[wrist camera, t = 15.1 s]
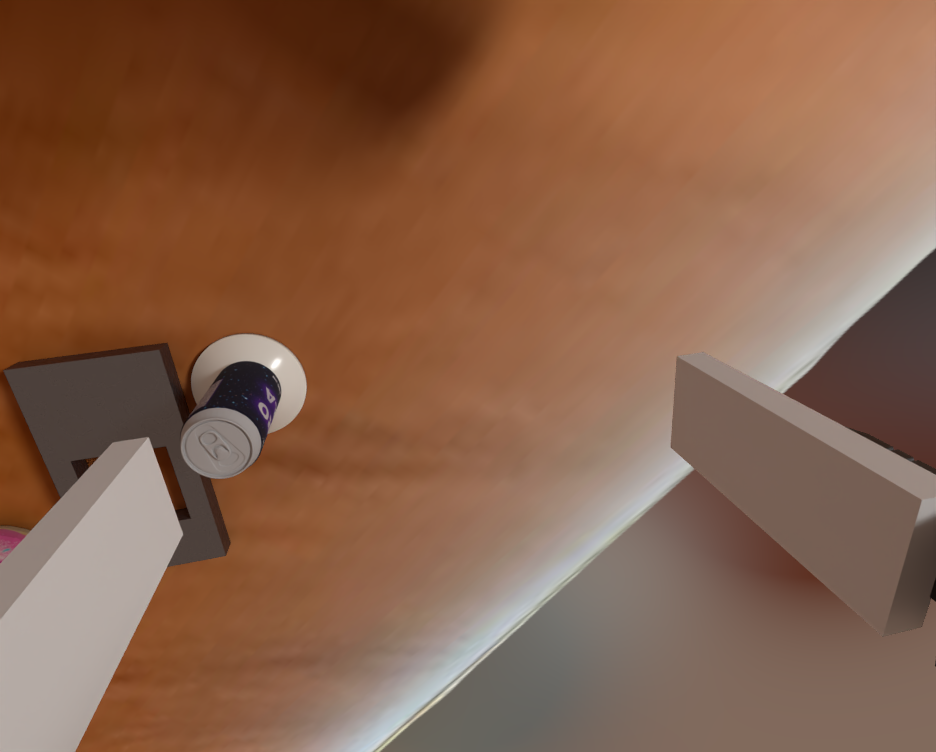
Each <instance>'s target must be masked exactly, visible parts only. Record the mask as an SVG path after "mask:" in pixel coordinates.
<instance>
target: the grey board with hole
mask: <svg viewBox="0 0 936 752" xmlns="http://www.w3.org/2000/svg"><path fill="white" fill-rule="evenodd" d="M3 371H4V373H5V375H6V378H7V380H8V382H9V384H10V386H11V389H12V391H13V393H14V395H15V398H16V400H17V402H18V404H19V406H20V409H21V411H22V413H23V415H24V418H25V420H26V422H27V424H28V426H29V429H30V431H31V433H32V435H33V438H34V440H35V442H36V444H37V446H38V449H39V451H40V453H41V455H42V458H43V460H44V462H45V464H46V466H47V469H48V471H49V473H50V475H51V478H52V480H53V482H54V484H55V486H56V489H57V491H58V493H59V495H60V498H62V497H63V496H64V494H65V493H66V492H67V491H68V490H69V489H70V488H71V487H72V486H73V485H74V484H75V483H76V482H77V480H78V479H79V478H80V477H81V476H82V475H83V474H84V473H85V472H86V471H87V470H88V469H89V467H88V465H87V462H86V460H85V459H88V458H94V457H100V456H101V455H102V454H103V452H104V451H105V450H106V449H107V448H108V447H109V446H110V445H111V444H112V443H113V442H119V441H125V440H132V439H139V438H145V437H149V439H150V442H151V445H152V448H159V447H165V446H166V448H167V451H168V453H169V456H170V459H171V462H172V465H173V468H174V471H175V474H176V477H177V480H178V482H179V485H180V488H181V491H182V494H183V497H184V500H185V503H186V506H187V508H186V509H180V510H175V512H176V515H177V518H178V521H179V524H180V527H181V529H182V532H183V536H182V538H181V540H180V542H179V544H178V546H177V548H176V550H175V552H174V554H173V556H172V558H171V560H170V562H169V564H168V566H167V567H169V566H174V565H179V564H185V563H190V562H195V561H201V560H206V559H212V558H217V557H222V556H226V554H227V552H228V549H229V546H230V540H229V536H228V533H227V530H226V527H225V524H224V521H223V517H222V514H221V511H220V508H219V505H218V502H217V499H216V495H215V492H214V489H213V486H212V483H211V480H210V478H209V477H205V476H203V475H200V474H199V473H197V472H195V471H194V470H192V469H191V468H190V467H189V466H188V465H187V463H186V462H185V461H184V459H183V457H182V454H181V447H180V445H181V443H180V433H181V429H182V426H183V424H184V423H185V421H186V420H187V418H188V417H189V416H190V413H189V410H188V407H187V404H186V401H185V397H184V394H183V391H182V388H181V385H180V382H179V379H178V375H177V372H176V369H175V366H174V363H173V360H172V356H171V353H170V350H169V347H168V344H167V343H162V344H155V345H147V346H139V347H132V348H124V349H116V350H108V351H101V352H93V353H85V354H78V355H70V356H62V357H55V358H47V359H39V360H32V361H24V362H18V363H16V364H14V365H12V366H10V367H8V368H7V369H5V370H3Z"/></svg>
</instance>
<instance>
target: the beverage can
mask: <svg viewBox="0 0 936 752" xmlns="http://www.w3.org/2000/svg"><path fill="white" fill-rule="evenodd" d="M280 398H281V385H280V382H279V380H278V378H277V377H276V375H275V374H274V373H273V372H272V371H271V370H270V369H269V368H267V367H266V366H264V365H262V364H260V363H257V362H252V361H240V362H236V363H233V364H230V365H229V366H227V367H226V368H224V369H223V370H222V371H221V372H220V374H219V375H218V376H217V378H216V379H215V381H214V382H213V383H212V385H211V386H210V388H209V389H208V390H207V392H206V393H205V395H204V396H203V397H202V399H201V400H200V402H199V403H198V404H197V406H196V407H195V409H194V410H193V411H192V413H191V414H190V416H189V417H188V418H187V420H186V421H185V423H184V424H183V426H182V429H181V433H180V443H181V445H180V447H181V454H182V457H183V459H184V461H185V462H186V463H187V465H188V466H189V467H190V468H191V469H192V470H194V471H195V472H197V473H199V474H200V475H203V476H205V477H209V478H216V479H223V478H229V477H233V476H235V475H238V474H239V473H241V472H242V471H244V470H245V469H246V468H248V467H249V466H251V465H252V464H253V463H254V462H255V461H256V460H257V458H258V457H259V455H260V453H261V451H262V448H263V445H264V442H265V440H266V437H267V434H268V431H269V429H270V426H271V423H272V420H273V418H274V415H275V412H276V410H277V407H278V404H279V401H280Z"/></svg>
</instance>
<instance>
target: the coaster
mask: <svg viewBox="0 0 936 752" xmlns="http://www.w3.org/2000/svg"><path fill="white" fill-rule="evenodd" d="M240 361H252V362H257V363H260V364H262V365H264V366H266V367H267V368H269V369H270V370H271V371H272V372H273V373H274V374H275V375H276V377H277V378H278V380H279V382H280V385H281V398H280V401H279V404H278V407H277V410H276V412H275V415H274V418H273V420H272V423H271V426H270V429H269V431H268V433H271V432H274V431H277V430H279V429H281V428H283V427H284V426H286V425H287V424H289V423H290V422H291V421H292V420H293V419H294V418H295V417H296V416H297V415H298V413H299V412H300V410H301V408H302V406H303V404H304V400H305V397H306V391H307V382H306V376H305V372H304V369H303V367H302V365H301V363H300V362H299V360H298V358H297V357H296V356H295V355H294V354H293V353H292V352H291V351H290V350H289V349H288V348H287V347H286V346H284V345H283V344H282V343H280V342H278V341H276V340H274V339H272V338H269V337H267V336H263V335H259V334H252V333H240V334H234V335H229V336H226V337H223V338H221V339H219V340H217V341H215V342H214V343H212V344H211V345H210V346H209V347H207V348H206V349H205V350H204V351H203V353H202V354H201V355H200V356H199V358H198V359H197V361H196V363H195V365H194V368H193V371H192V375H191V389H192V393H193V397H194V399H195V402H196V403H197V404H198V403H199V402H200V400H201V399H202V397H203V396H204V395H205V393H206V392H207V390H208V389H209V388H210V386H211V385H212V383H213V382H214V381H215V379H216V378H217V376H218V375H219V374H220V372H221V371H222V370H223V369H224V368H226V367H227V366H229V365H230V364H233V363H236V362H240Z"/></svg>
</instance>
